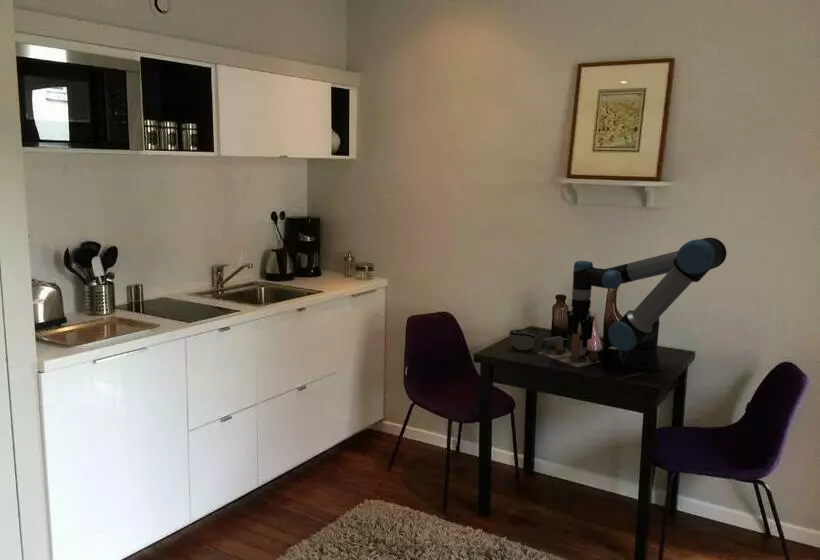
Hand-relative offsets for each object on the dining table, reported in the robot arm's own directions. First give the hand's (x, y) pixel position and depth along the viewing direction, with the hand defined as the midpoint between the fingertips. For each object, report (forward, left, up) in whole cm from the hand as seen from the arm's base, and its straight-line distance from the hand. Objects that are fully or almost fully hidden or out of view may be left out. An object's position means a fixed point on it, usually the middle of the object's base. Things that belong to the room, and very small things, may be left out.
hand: (578, 353), depth 289 cm
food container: (+22, +10, -4) cm, 25 cm away
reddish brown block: (0, 0, -3) cm, 3 cm away
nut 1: (+11, 0, -3) cm, 12 cm away
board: (+5, 0, -4) cm, 7 cm away
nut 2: (-4, -4, -3) cm, 7 cm away
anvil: (+13, 0, -3) cm, 14 cm away
